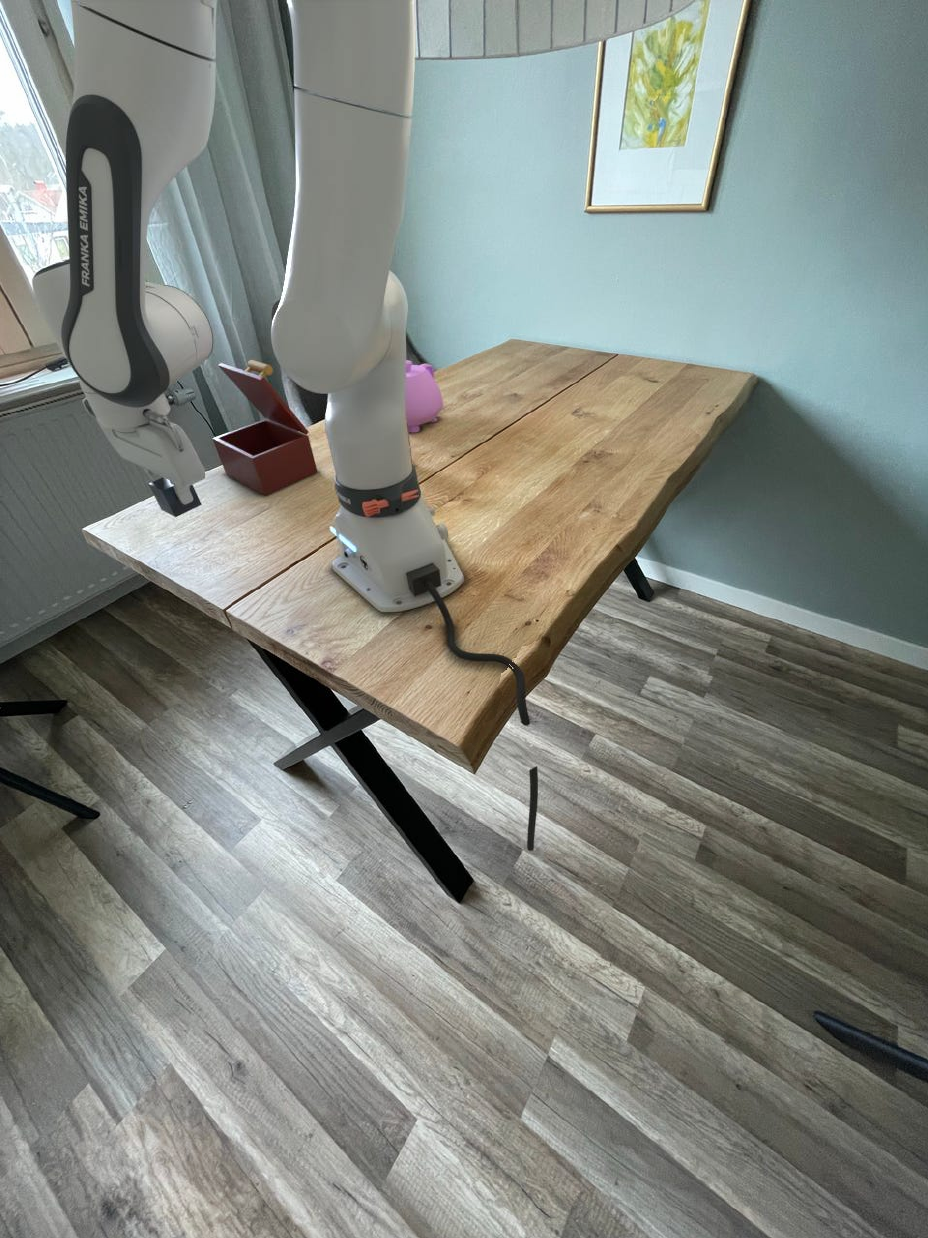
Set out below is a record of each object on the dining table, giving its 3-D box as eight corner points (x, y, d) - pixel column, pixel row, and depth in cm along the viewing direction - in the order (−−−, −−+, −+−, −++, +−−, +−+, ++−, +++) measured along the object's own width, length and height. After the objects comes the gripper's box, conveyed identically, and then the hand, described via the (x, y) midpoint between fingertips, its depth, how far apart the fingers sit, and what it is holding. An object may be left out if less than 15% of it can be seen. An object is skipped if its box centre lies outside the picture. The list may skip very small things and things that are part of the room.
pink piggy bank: (404, 447, 116) (395, 382, 107) (354, 434, 123) (342, 372, 114) (462, 413, 129) (458, 353, 119) (413, 403, 136) (406, 345, 127)
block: (202, 504, 80) (189, 478, 77) (175, 517, 78) (162, 490, 75) (187, 497, 83) (175, 471, 80) (161, 509, 80) (147, 483, 77)
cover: (260, 379, 92) (277, 360, 93) (217, 365, 100) (233, 347, 101) (306, 434, 103) (321, 417, 104) (264, 417, 112) (279, 401, 112)
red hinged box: (265, 496, 102) (252, 458, 97) (226, 474, 111) (212, 438, 105) (317, 472, 109) (308, 435, 104) (277, 453, 117) (266, 418, 112)
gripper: (191, 409, 66) (232, 505, 76) (120, 386, 77) (164, 473, 86) (144, 426, 63) (193, 525, 72) (76, 400, 73) (126, 489, 83)
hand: (176, 496), depth 79 cm, fingers closed on block, 4 cm apart
